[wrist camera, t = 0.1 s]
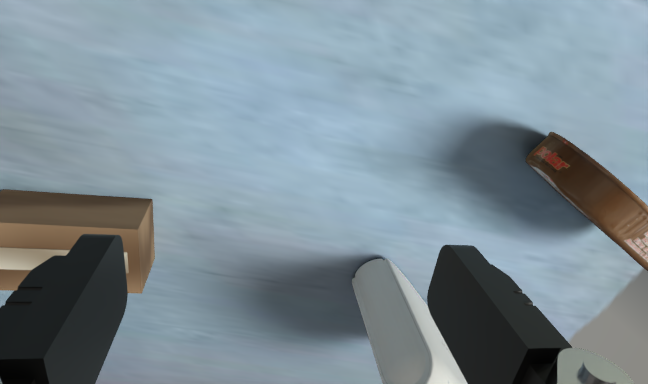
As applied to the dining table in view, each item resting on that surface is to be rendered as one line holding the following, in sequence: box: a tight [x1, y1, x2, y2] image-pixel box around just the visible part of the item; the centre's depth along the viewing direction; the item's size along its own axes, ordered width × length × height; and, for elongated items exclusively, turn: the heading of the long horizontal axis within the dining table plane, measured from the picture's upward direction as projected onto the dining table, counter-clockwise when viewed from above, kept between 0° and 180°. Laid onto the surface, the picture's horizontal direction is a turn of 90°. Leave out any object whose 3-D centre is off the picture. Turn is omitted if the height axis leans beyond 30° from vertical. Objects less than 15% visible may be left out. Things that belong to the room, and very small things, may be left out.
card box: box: [0, 189, 155, 293], centre depth 26 cm, size 5×9×4 cm, turn 81°
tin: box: [526, 132, 648, 271], centre depth 28 cm, size 15×3×8 cm, turn 52°
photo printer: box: [352, 258, 467, 384], centre depth 30 cm, size 10×4×12 cm, turn 33°
